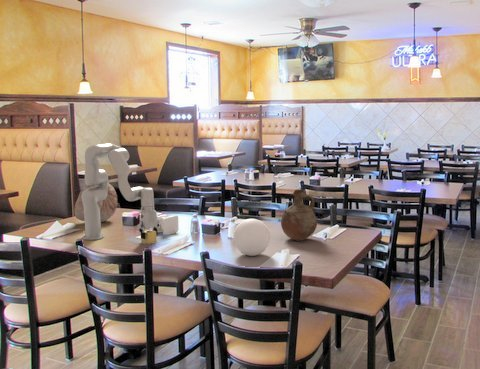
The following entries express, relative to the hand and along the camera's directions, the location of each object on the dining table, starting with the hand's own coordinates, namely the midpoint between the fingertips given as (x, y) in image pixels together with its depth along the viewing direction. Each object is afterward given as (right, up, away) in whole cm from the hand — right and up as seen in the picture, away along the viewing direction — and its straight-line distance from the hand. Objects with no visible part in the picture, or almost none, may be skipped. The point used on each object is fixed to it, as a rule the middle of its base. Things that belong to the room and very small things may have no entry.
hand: (149, 237), depth 304 cm
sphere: (+60, -7, -27) cm, 66 cm away
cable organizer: (+6, -1, +25) cm, 26 cm away
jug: (+90, -2, +6) cm, 90 cm away
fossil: (-48, +4, +61) cm, 78 cm away
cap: (0, -3, +1) cm, 3 cm away
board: (-2, -3, +6) cm, 7 cm away
